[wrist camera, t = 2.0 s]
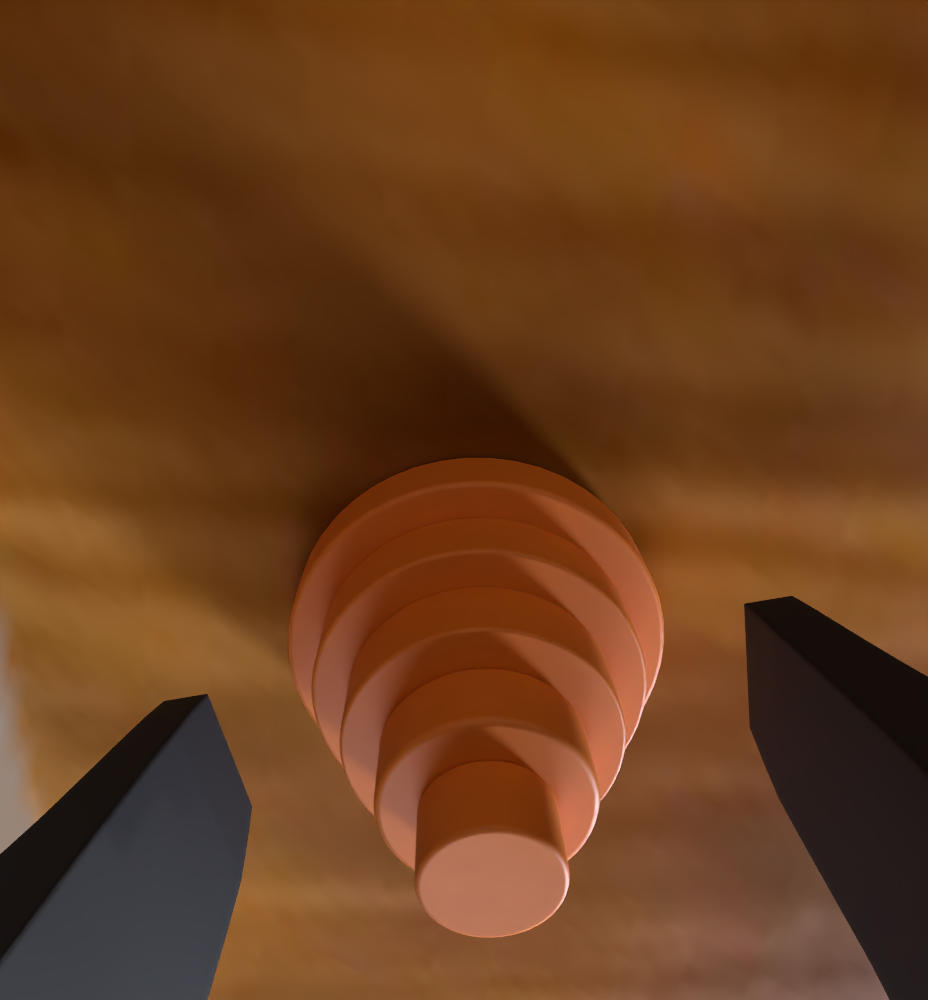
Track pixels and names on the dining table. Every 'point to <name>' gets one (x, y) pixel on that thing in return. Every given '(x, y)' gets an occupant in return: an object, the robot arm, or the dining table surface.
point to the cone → (478, 675)
